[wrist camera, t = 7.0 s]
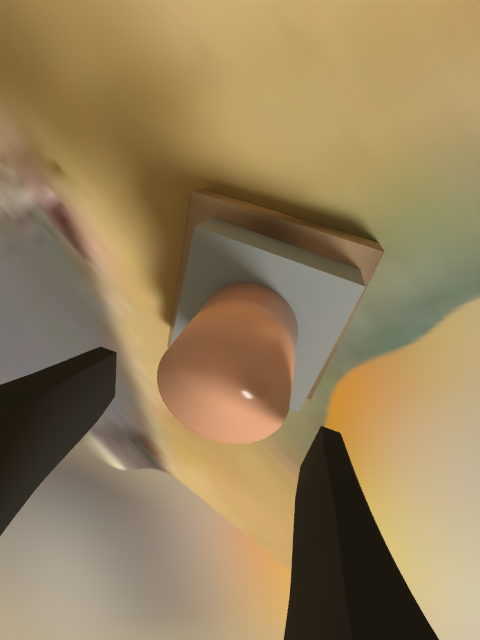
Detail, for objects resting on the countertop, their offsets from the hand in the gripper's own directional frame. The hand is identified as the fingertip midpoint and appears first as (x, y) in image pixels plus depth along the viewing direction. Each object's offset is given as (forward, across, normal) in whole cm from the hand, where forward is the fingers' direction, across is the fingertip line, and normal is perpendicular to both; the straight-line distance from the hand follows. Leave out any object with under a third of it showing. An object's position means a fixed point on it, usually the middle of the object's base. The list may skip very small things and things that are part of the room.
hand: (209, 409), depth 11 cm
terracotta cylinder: (+6, 0, 0) cm, 6 cm away
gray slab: (+9, 0, 0) cm, 9 cm away
